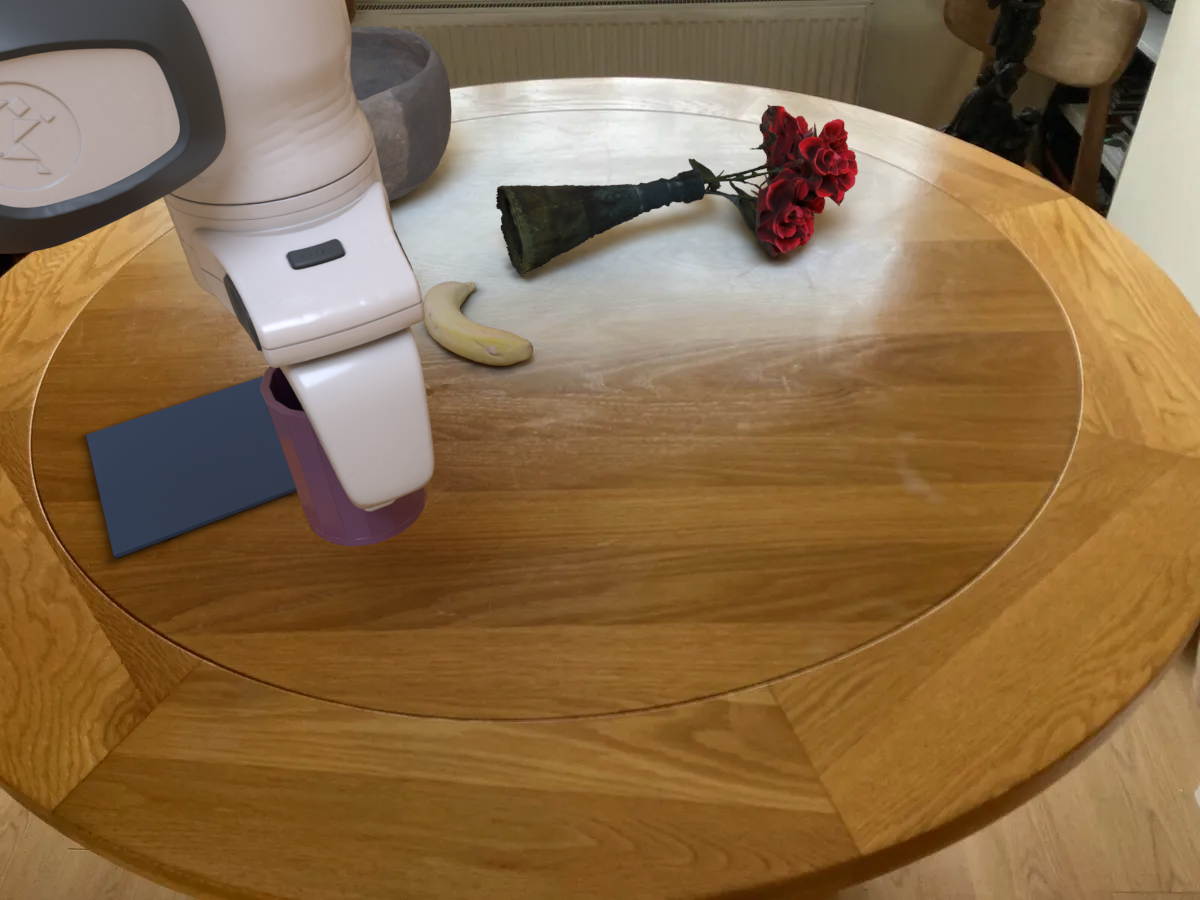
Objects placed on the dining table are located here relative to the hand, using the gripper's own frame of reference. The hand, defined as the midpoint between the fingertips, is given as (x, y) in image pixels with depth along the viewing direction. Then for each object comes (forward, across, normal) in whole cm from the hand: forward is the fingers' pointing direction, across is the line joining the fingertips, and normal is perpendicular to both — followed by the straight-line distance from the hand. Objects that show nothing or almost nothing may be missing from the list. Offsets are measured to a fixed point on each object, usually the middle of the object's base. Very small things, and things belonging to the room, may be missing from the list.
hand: (353, 453), depth 51 cm
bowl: (+19, -68, +18) cm, 73 cm away
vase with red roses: (+19, -36, +42) cm, 59 cm away
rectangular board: (+19, -28, -5) cm, 35 cm away
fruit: (+19, -33, +19) cm, 42 cm away
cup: (+4, 0, 0) cm, 4 cm away
